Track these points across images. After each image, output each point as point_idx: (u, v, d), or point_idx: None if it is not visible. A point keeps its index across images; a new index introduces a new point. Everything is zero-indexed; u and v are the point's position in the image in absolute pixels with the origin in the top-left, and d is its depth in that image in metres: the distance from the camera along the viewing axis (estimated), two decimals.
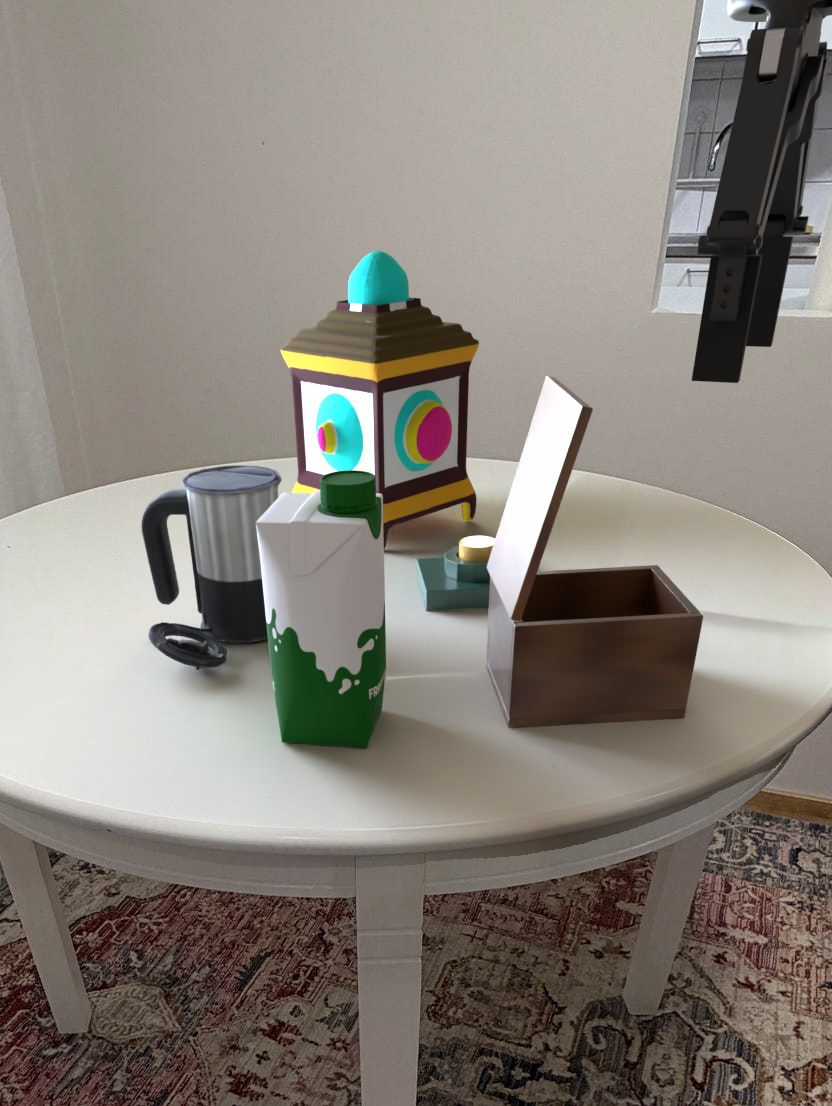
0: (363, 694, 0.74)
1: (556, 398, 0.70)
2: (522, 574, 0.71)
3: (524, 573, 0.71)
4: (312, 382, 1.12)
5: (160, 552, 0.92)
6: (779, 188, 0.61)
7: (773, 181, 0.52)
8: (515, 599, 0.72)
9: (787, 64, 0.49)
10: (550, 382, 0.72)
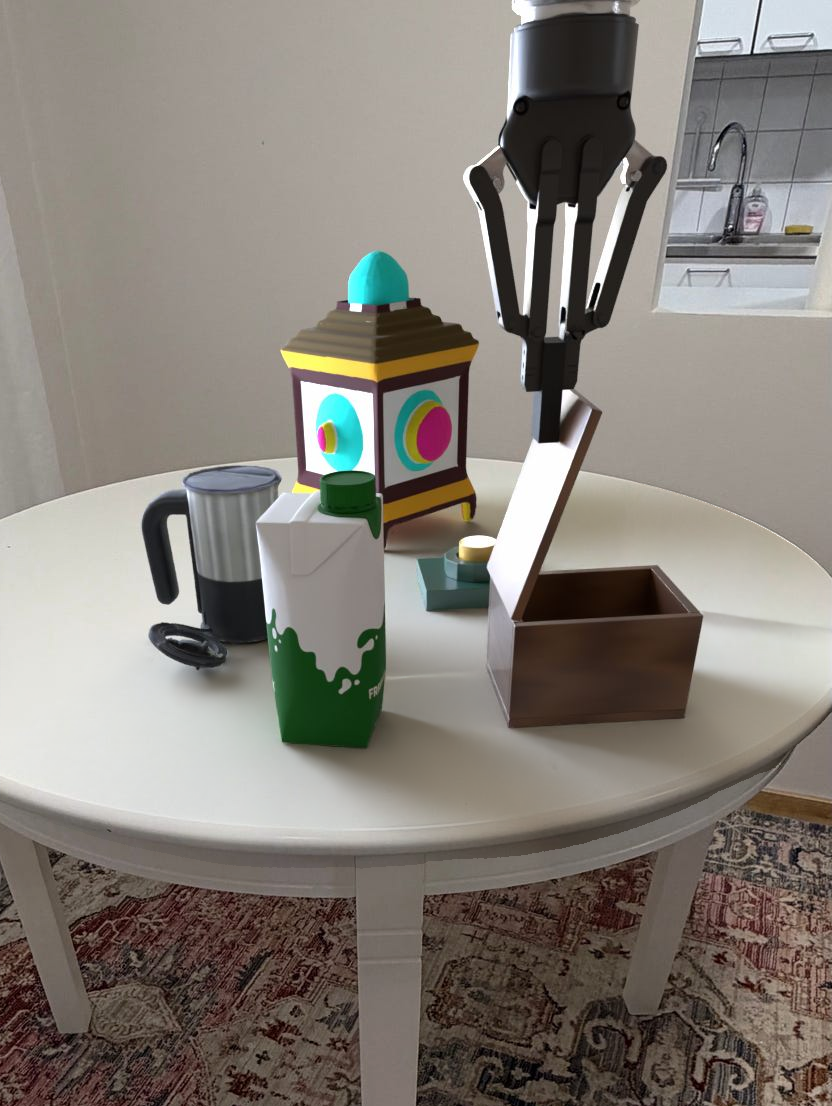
0: (363, 694, 0.74)
1: (565, 401, 0.70)
2: (524, 575, 0.71)
3: (526, 574, 0.71)
4: (312, 382, 1.12)
5: (160, 552, 0.92)
6: (566, 275, 0.64)
7: (532, 280, 0.63)
8: (516, 599, 0.72)
9: (478, 199, 0.61)
10: None
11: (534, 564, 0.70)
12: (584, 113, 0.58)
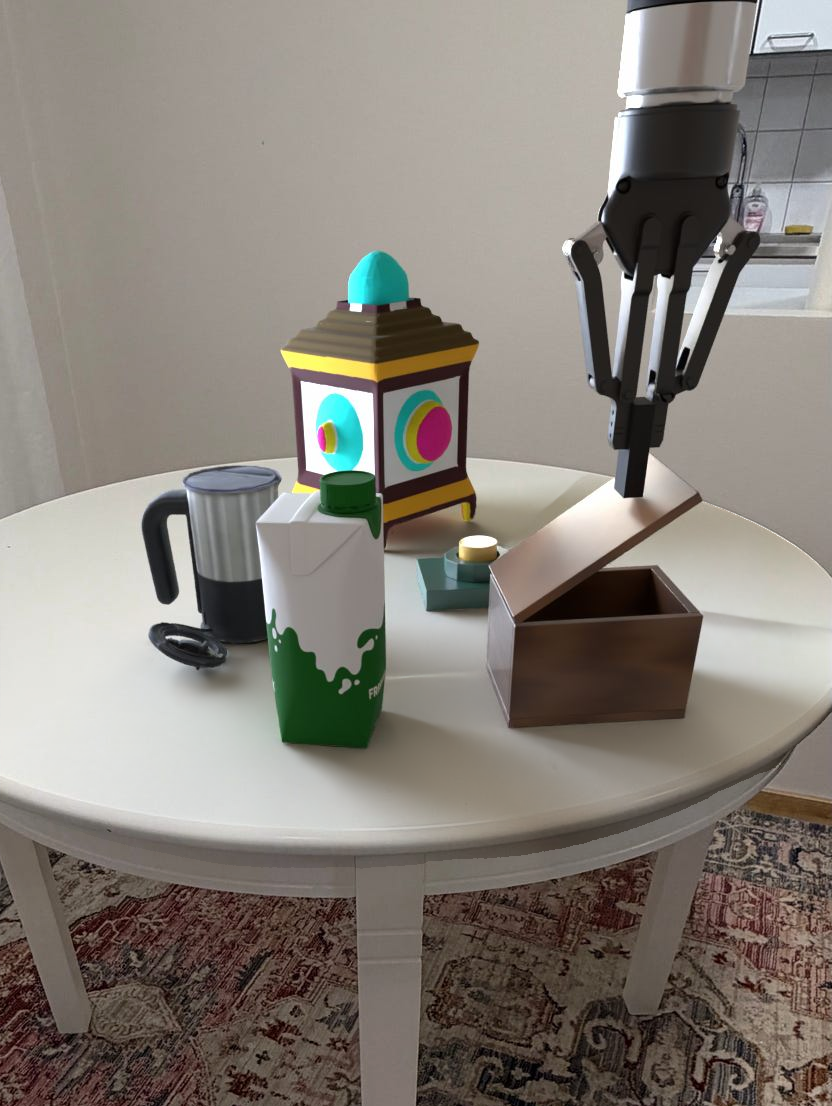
0: (363, 694, 0.74)
1: (659, 474, 0.73)
2: (547, 587, 0.72)
3: (552, 588, 0.72)
4: (312, 382, 1.12)
5: (160, 552, 0.92)
6: (658, 340, 0.67)
7: (626, 346, 0.66)
8: (528, 603, 0.72)
9: (577, 271, 0.63)
10: (655, 459, 0.75)
11: (565, 584, 0.71)
12: (684, 192, 0.61)
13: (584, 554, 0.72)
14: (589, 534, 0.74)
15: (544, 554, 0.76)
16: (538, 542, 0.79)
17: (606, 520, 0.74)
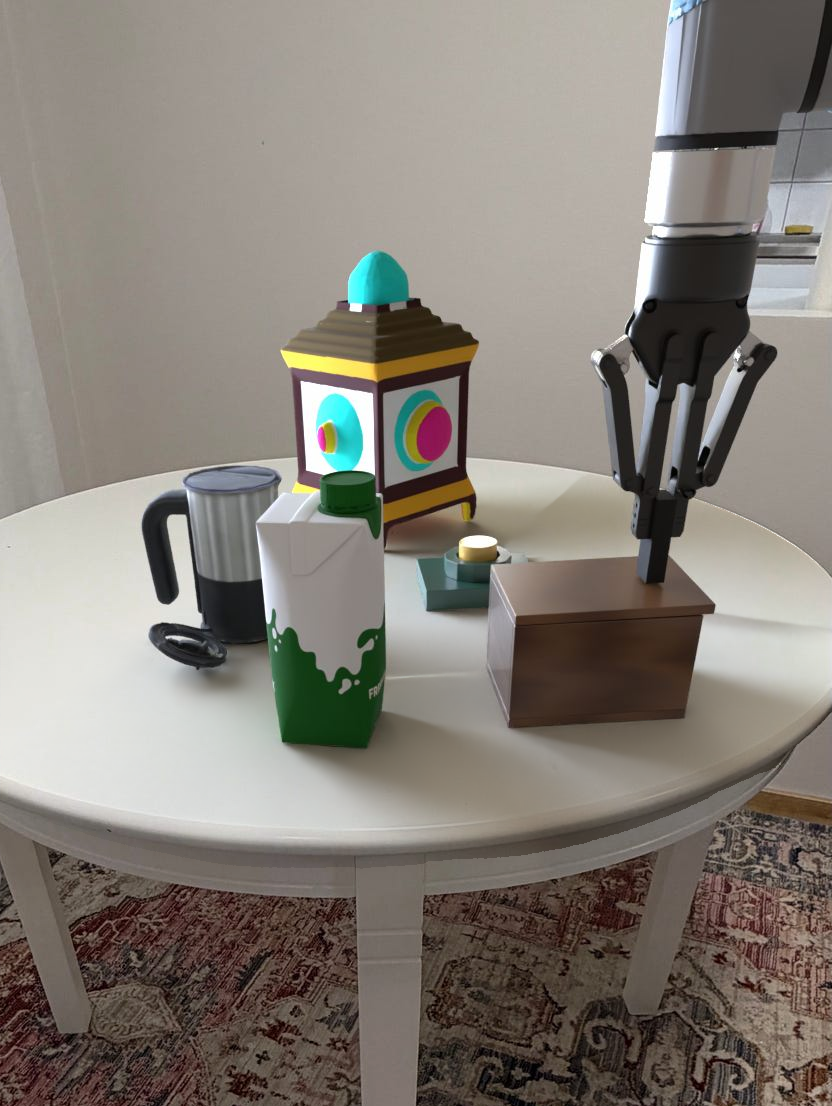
0: (363, 694, 0.74)
1: (677, 574, 0.78)
2: (556, 609, 0.73)
3: (561, 611, 0.73)
4: (312, 382, 1.12)
5: (160, 552, 0.92)
6: (679, 441, 0.71)
7: (650, 447, 0.70)
8: (534, 613, 0.73)
9: (605, 381, 0.68)
10: (673, 561, 0.80)
11: (573, 614, 0.73)
12: (706, 311, 0.65)
13: (597, 600, 0.74)
14: (603, 587, 0.76)
15: (553, 582, 0.78)
16: (547, 570, 0.80)
17: (621, 584, 0.77)
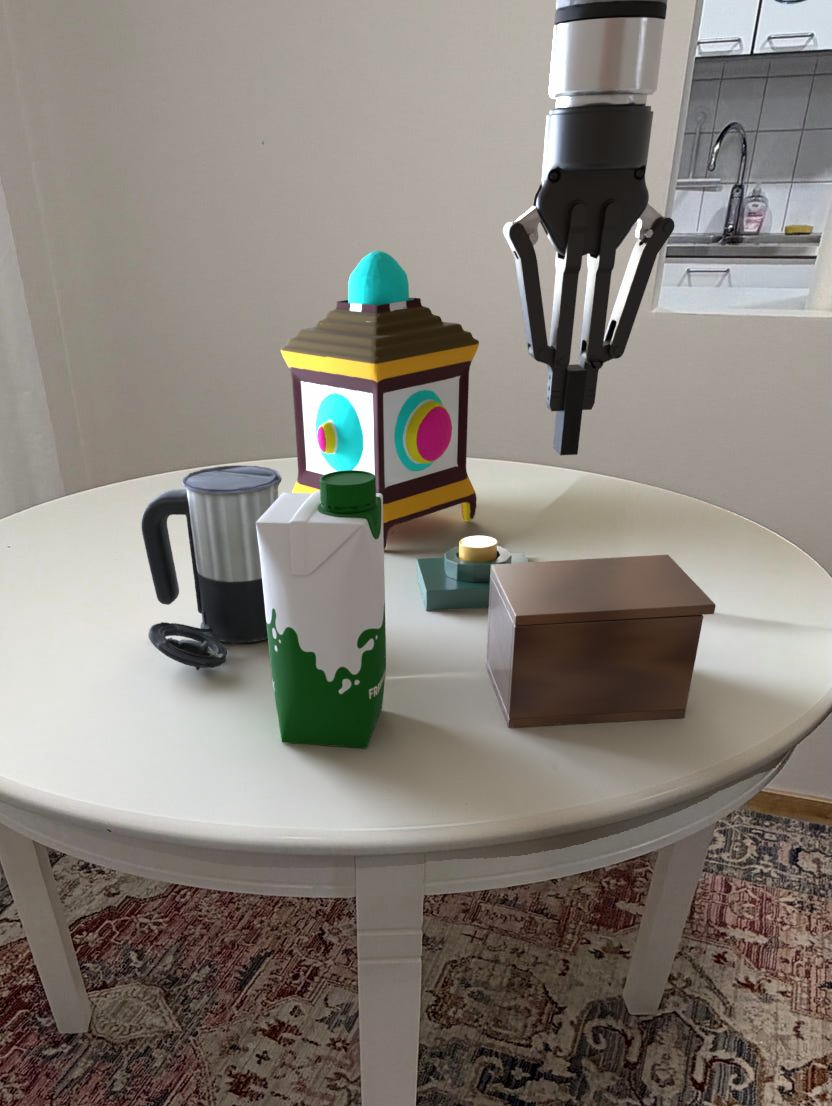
0: (363, 694, 0.74)
1: (677, 574, 0.78)
2: (556, 609, 0.73)
3: (561, 611, 0.73)
4: (312, 382, 1.12)
5: (160, 552, 0.92)
6: (588, 313, 0.76)
7: (559, 318, 0.75)
8: (534, 613, 0.73)
9: (515, 250, 0.72)
10: (673, 562, 0.80)
11: (573, 614, 0.73)
12: (606, 182, 0.70)
13: (597, 600, 0.74)
14: (603, 587, 0.76)
15: (553, 582, 0.78)
16: (547, 570, 0.80)
17: (621, 584, 0.77)
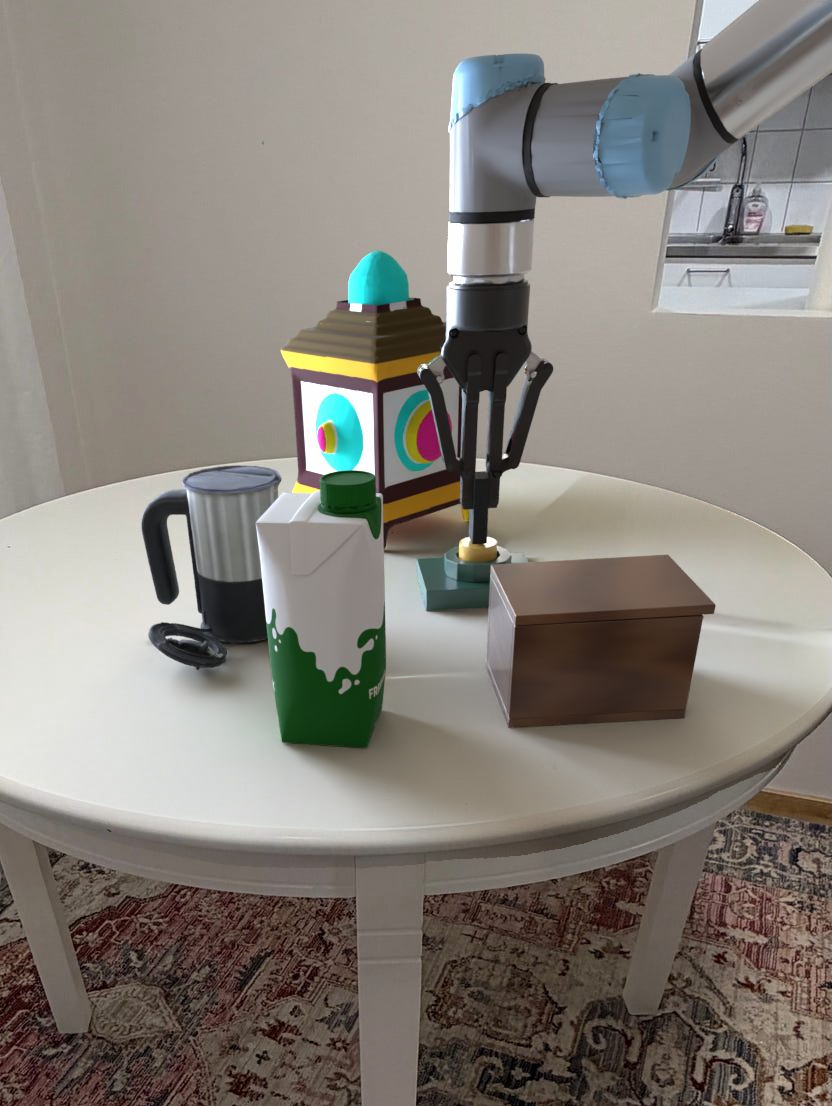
0: (363, 694, 0.74)
1: (677, 574, 0.78)
2: (556, 609, 0.73)
3: (561, 611, 0.73)
4: (312, 382, 1.12)
5: (160, 552, 0.92)
6: (489, 434, 0.94)
7: (465, 438, 0.93)
8: (534, 613, 0.73)
9: (426, 388, 0.90)
10: (673, 562, 0.80)
11: (573, 614, 0.73)
12: (496, 337, 0.88)
13: (597, 600, 0.74)
14: (603, 587, 0.76)
15: (553, 582, 0.78)
16: (547, 570, 0.80)
17: (621, 584, 0.77)
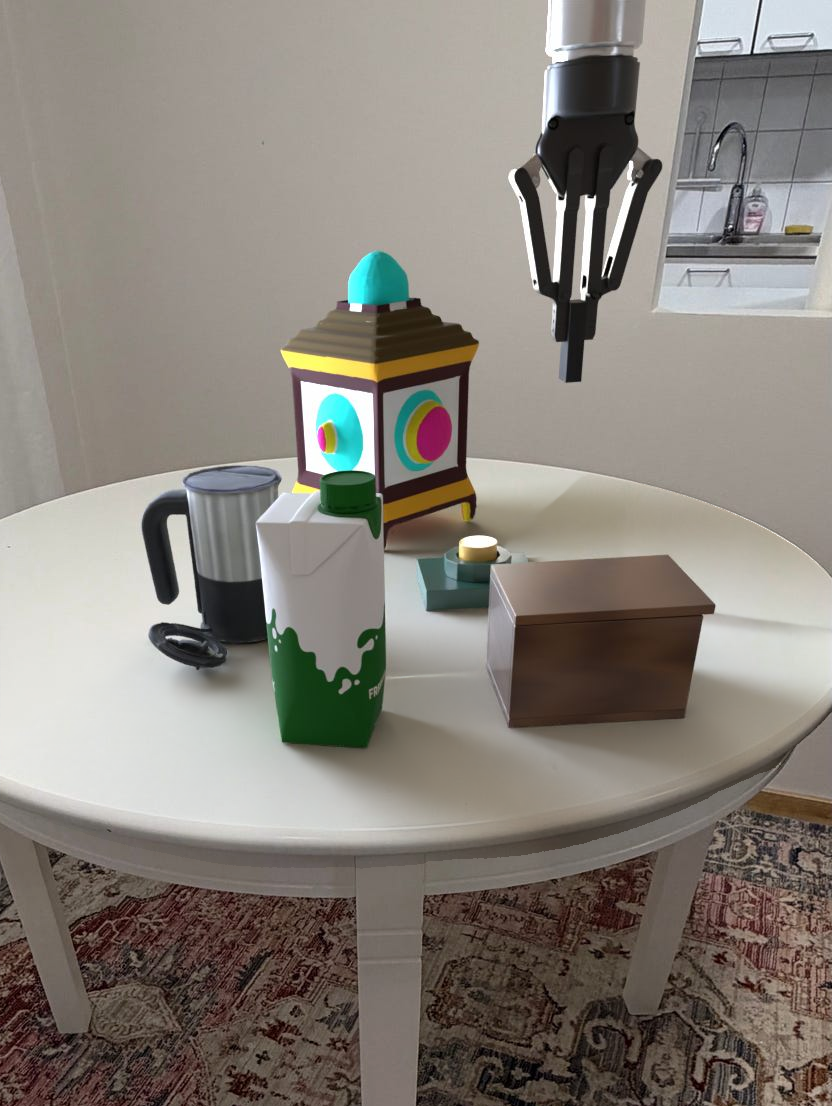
0: (363, 694, 0.74)
1: (677, 574, 0.78)
2: (556, 609, 0.73)
3: (561, 611, 0.73)
4: (312, 382, 1.12)
5: (160, 552, 0.92)
6: (587, 250, 0.84)
7: (561, 254, 0.83)
8: (534, 613, 0.73)
9: (520, 193, 0.81)
10: (673, 562, 0.80)
11: (573, 614, 0.73)
12: (600, 128, 0.78)
13: (597, 600, 0.74)
14: (603, 587, 0.76)
15: (553, 582, 0.78)
16: (547, 570, 0.80)
17: (621, 584, 0.77)
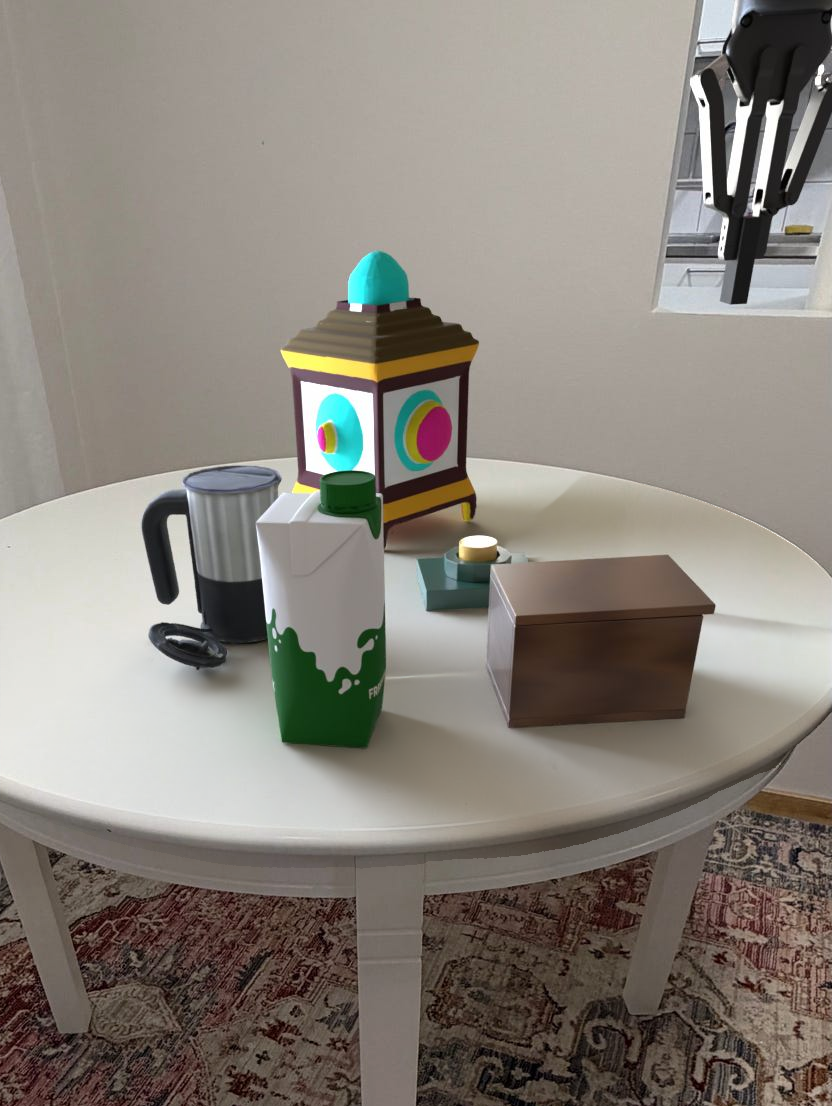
0: (363, 694, 0.74)
1: (677, 574, 0.78)
2: (556, 609, 0.73)
3: (561, 611, 0.73)
4: (312, 382, 1.12)
5: (160, 552, 0.92)
6: (765, 161, 0.81)
7: (740, 164, 0.80)
8: (534, 613, 0.73)
9: (704, 97, 0.77)
10: (673, 562, 0.80)
11: (573, 614, 0.73)
12: (795, 26, 0.75)
13: (597, 600, 0.74)
14: (603, 587, 0.76)
15: (553, 582, 0.78)
16: (547, 570, 0.80)
17: (621, 584, 0.77)
